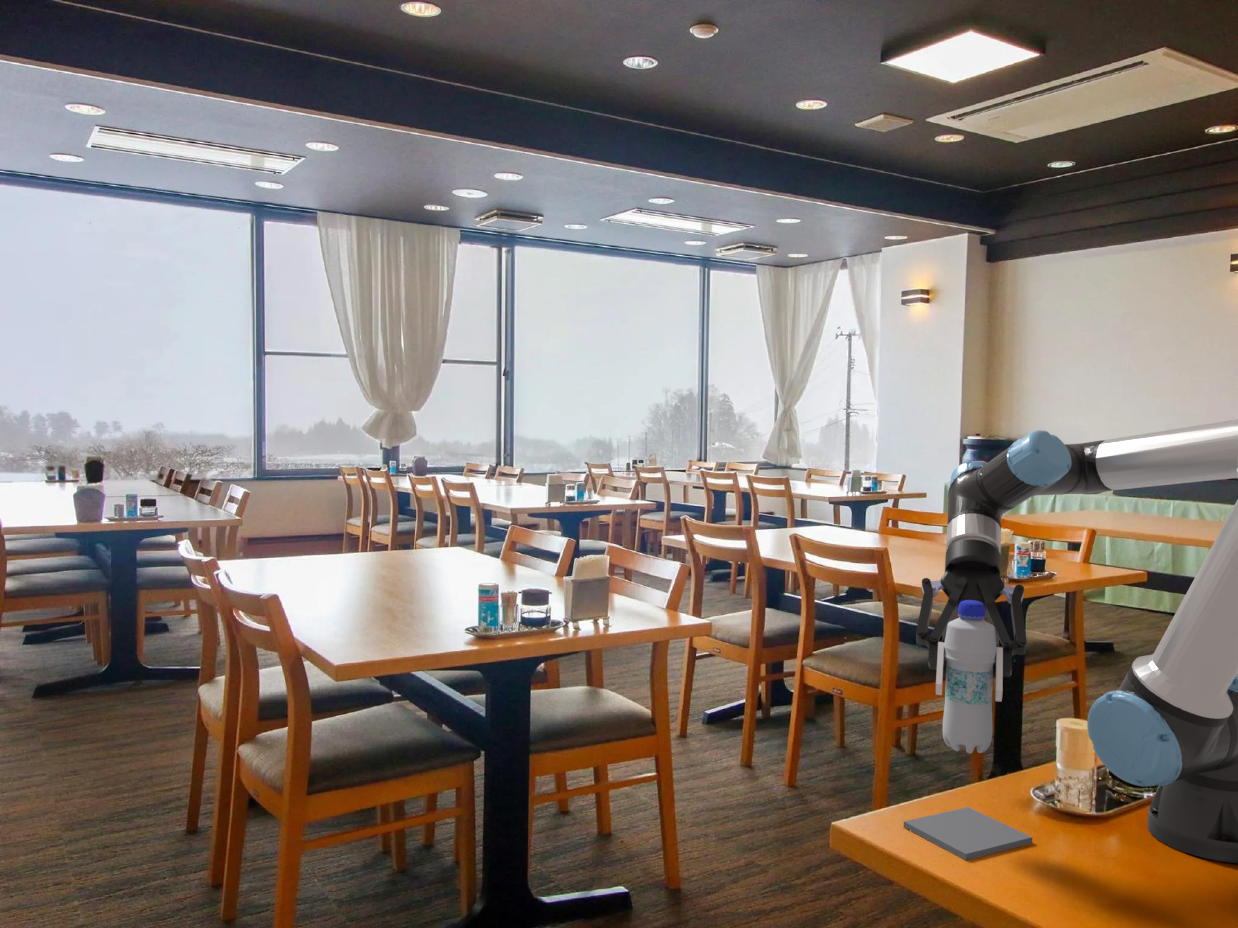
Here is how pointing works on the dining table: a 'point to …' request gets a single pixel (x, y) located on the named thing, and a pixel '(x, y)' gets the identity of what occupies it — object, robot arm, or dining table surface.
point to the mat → (967, 833)
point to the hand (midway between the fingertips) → (968, 692)
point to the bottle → (969, 679)
